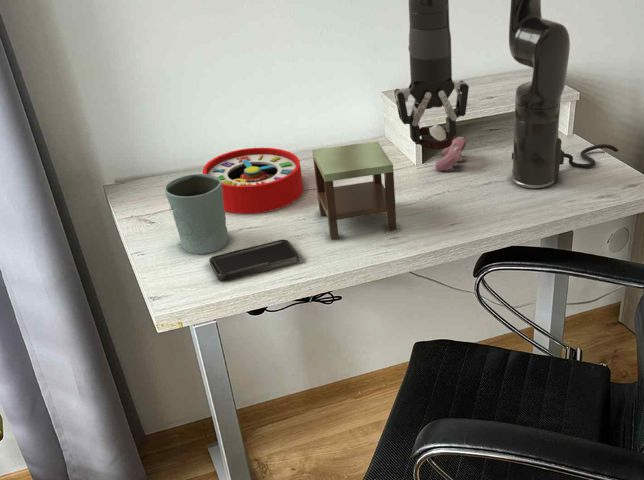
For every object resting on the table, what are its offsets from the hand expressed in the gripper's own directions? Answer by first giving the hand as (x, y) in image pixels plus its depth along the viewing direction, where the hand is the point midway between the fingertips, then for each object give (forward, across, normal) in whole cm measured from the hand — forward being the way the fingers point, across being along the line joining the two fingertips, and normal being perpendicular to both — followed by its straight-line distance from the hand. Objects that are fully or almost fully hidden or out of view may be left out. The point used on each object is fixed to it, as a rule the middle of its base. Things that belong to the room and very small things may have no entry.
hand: (433, 140), depth 155 cm
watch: (+1, 0, 0) cm, 1 cm away
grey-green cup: (+15, -45, +3) cm, 48 cm away
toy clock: (+15, -33, +22) cm, 43 cm away
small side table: (+15, -16, +2) cm, 22 cm away
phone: (+15, -37, -8) cm, 41 cm away
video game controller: (+16, +11, +22) cm, 29 cm away
